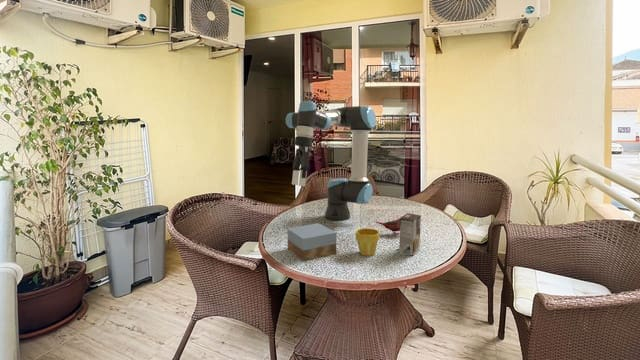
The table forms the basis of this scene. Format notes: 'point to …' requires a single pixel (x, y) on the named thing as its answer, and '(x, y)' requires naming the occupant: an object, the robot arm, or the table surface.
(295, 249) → the tower base
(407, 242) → the coffee box
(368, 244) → the plant pot
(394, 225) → the decorative bird figurine
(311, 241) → the tower top
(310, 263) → the table surface
